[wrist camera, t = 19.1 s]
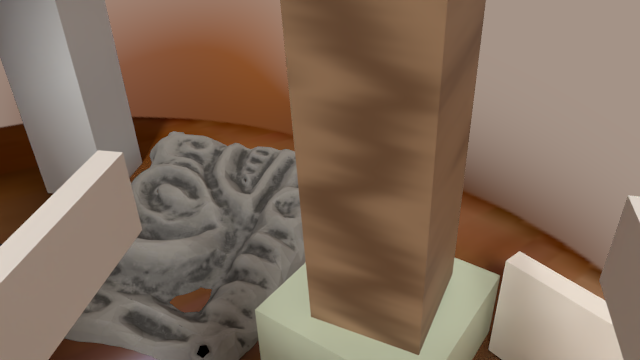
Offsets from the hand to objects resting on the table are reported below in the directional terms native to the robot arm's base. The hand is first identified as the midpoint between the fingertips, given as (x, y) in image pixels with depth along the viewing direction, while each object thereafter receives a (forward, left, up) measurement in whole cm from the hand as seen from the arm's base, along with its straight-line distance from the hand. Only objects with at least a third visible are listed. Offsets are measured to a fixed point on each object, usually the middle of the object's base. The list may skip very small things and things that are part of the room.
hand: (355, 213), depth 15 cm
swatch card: (+5, +13, -18) cm, 23 cm away
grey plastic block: (-36, +12, -18) cm, 42 cm away
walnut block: (-4, +10, -13) cm, 17 cm away
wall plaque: (-22, +11, -19) cm, 32 cm away
